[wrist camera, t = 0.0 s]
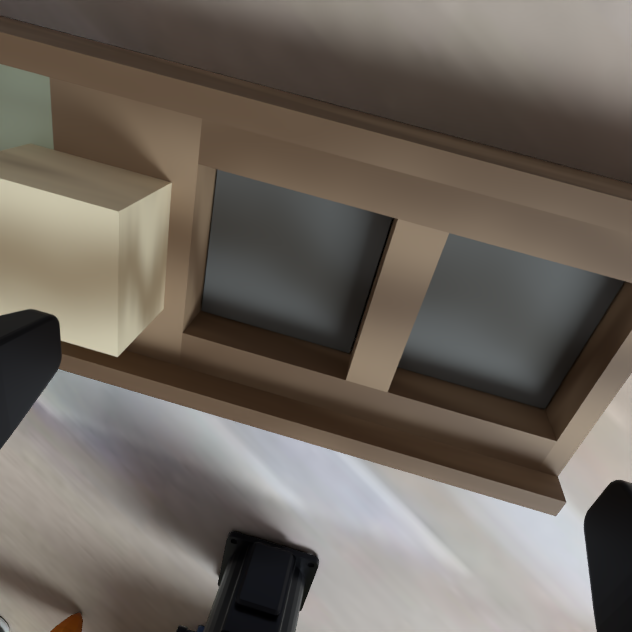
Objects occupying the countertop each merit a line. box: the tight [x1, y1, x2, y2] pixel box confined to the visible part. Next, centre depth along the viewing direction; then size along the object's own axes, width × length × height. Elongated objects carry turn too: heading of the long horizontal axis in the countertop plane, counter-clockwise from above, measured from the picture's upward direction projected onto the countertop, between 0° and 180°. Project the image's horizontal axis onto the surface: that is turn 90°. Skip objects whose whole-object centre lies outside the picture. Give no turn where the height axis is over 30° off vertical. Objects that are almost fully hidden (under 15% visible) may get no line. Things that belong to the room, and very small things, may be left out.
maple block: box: [0, 143, 172, 357], centre depth 19 cm, size 6×6×4 cm
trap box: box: [0, 16, 632, 516], centre depth 20 cm, size 14×34×6 cm, turn 77°
